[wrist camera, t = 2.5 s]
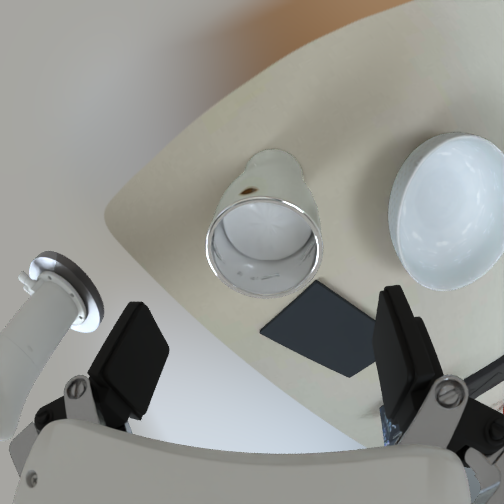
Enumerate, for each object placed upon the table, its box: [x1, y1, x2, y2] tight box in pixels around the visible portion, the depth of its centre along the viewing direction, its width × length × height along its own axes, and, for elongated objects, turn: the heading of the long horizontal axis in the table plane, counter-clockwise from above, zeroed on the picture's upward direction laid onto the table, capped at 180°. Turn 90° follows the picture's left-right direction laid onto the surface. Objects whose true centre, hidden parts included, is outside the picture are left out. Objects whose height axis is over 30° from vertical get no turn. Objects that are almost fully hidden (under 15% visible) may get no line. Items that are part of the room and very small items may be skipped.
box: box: [380, 405, 402, 446], centre depth 45 cm, size 8×6×11 cm
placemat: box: [260, 280, 376, 378], centre depth 39 cm, size 20×12×1 cm, turn 55°
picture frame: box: [464, 355, 504, 399], centre depth 43 cm, size 13×2×18 cm
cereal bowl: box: [388, 132, 504, 291], centre depth 23 cm, size 17×17×7 cm
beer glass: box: [205, 149, 323, 298], centre depth 22 cm, size 7×7×15 cm
